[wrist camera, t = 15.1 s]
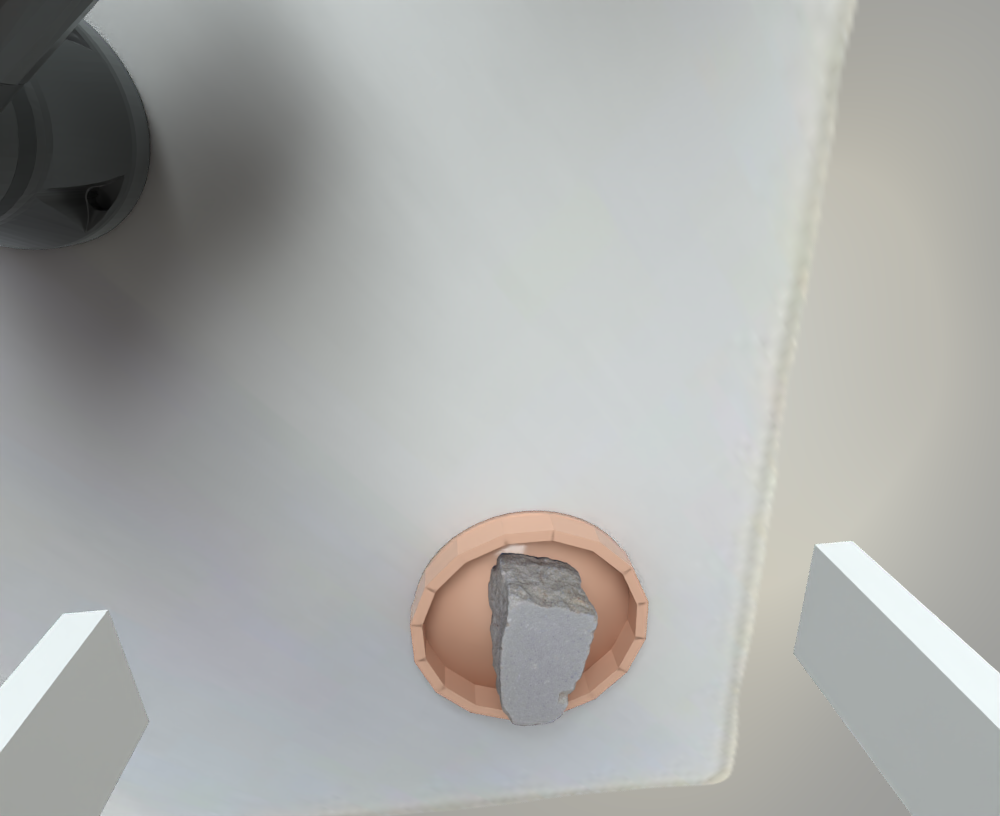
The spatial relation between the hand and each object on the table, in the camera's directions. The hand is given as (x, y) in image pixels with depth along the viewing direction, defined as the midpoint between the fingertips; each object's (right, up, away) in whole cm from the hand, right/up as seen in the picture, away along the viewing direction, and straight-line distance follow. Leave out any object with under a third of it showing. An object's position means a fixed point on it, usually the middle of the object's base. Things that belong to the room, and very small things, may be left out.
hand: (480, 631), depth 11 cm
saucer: (+3, -14, +44) cm, 46 cm away
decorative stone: (+3, -14, +43) cm, 45 cm away
